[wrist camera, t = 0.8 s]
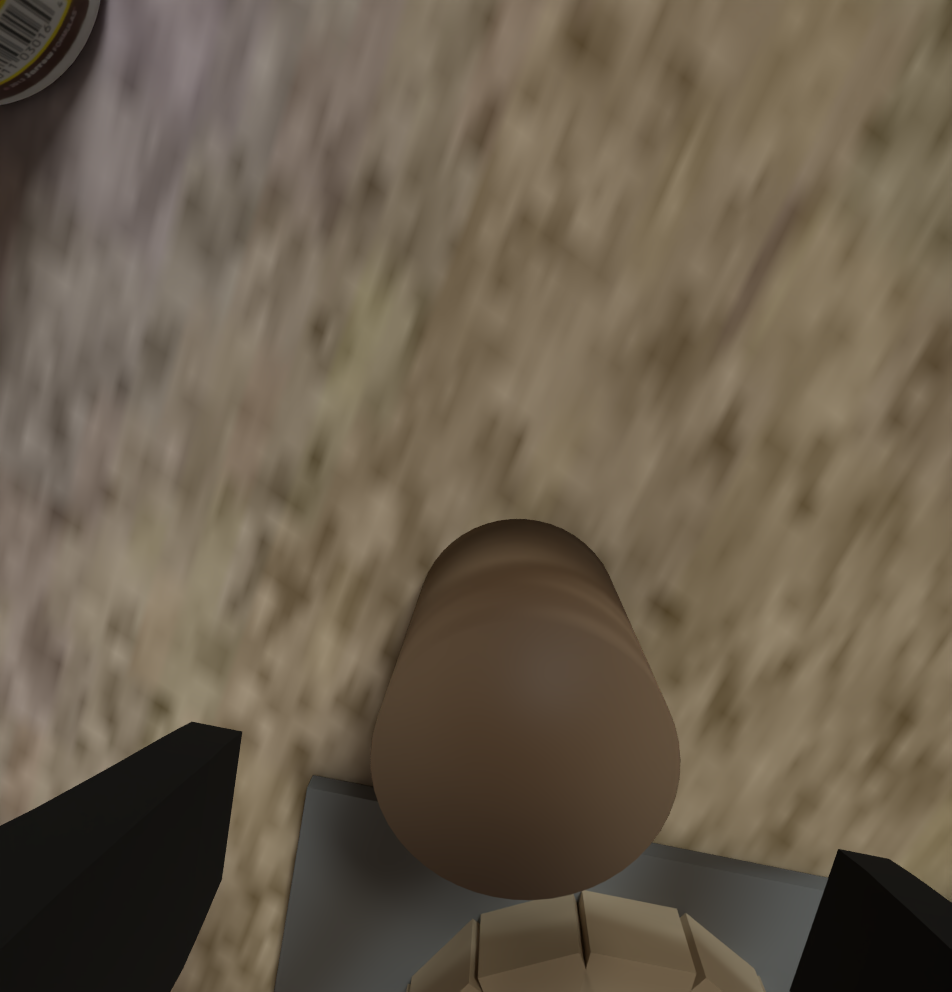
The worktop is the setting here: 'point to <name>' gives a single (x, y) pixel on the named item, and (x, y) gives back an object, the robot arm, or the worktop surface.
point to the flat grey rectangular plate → (528, 919)
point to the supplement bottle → (40, 42)
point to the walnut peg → (523, 721)
